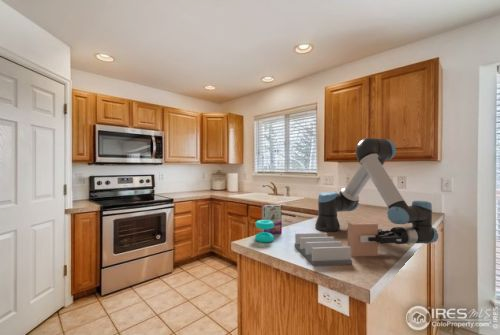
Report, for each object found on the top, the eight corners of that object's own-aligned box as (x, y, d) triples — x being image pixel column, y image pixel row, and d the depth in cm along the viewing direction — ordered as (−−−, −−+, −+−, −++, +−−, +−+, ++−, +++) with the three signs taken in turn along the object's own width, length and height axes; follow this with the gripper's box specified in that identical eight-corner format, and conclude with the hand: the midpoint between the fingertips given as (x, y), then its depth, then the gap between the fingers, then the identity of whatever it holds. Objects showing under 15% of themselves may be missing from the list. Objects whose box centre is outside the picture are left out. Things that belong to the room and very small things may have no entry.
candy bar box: (278, 231, 145) (278, 204, 145) (281, 233, 140) (282, 205, 140) (261, 232, 142) (261, 204, 142) (263, 234, 137) (264, 206, 137)
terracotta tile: (347, 253, 108) (347, 222, 108) (371, 252, 109) (372, 222, 109) (352, 256, 104) (352, 224, 104) (377, 255, 105) (377, 224, 105)
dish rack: (294, 246, 117) (294, 232, 117) (325, 245, 119) (325, 232, 119) (313, 265, 93) (314, 249, 93) (351, 264, 95) (352, 248, 95)
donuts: (266, 224, 119) (251, 221, 125) (266, 244, 119) (251, 240, 125) (277, 221, 127) (262, 218, 133) (277, 240, 127) (262, 236, 133)
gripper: (420, 250, 100) (369, 252, 97) (388, 237, 119) (344, 238, 116) (420, 232, 100) (369, 234, 97) (388, 222, 119) (344, 223, 116)
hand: (356, 236), depth 106 cm, fingers open, 6 cm apart
